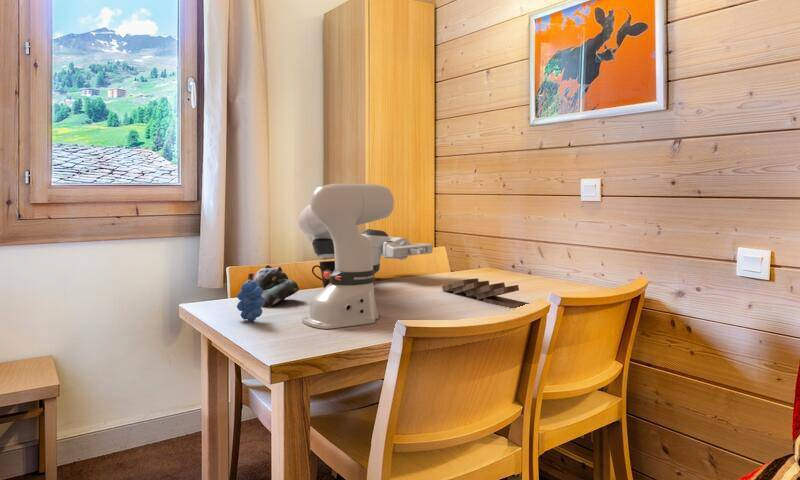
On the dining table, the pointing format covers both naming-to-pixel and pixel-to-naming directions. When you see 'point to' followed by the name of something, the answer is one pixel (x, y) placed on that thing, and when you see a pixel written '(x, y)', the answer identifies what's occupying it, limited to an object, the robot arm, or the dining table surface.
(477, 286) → the domino
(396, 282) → the dining table surface
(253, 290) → the grapes
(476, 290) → the domino
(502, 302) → the domino
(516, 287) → the domino
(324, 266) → the coffee mug
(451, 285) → the domino
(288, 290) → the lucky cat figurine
